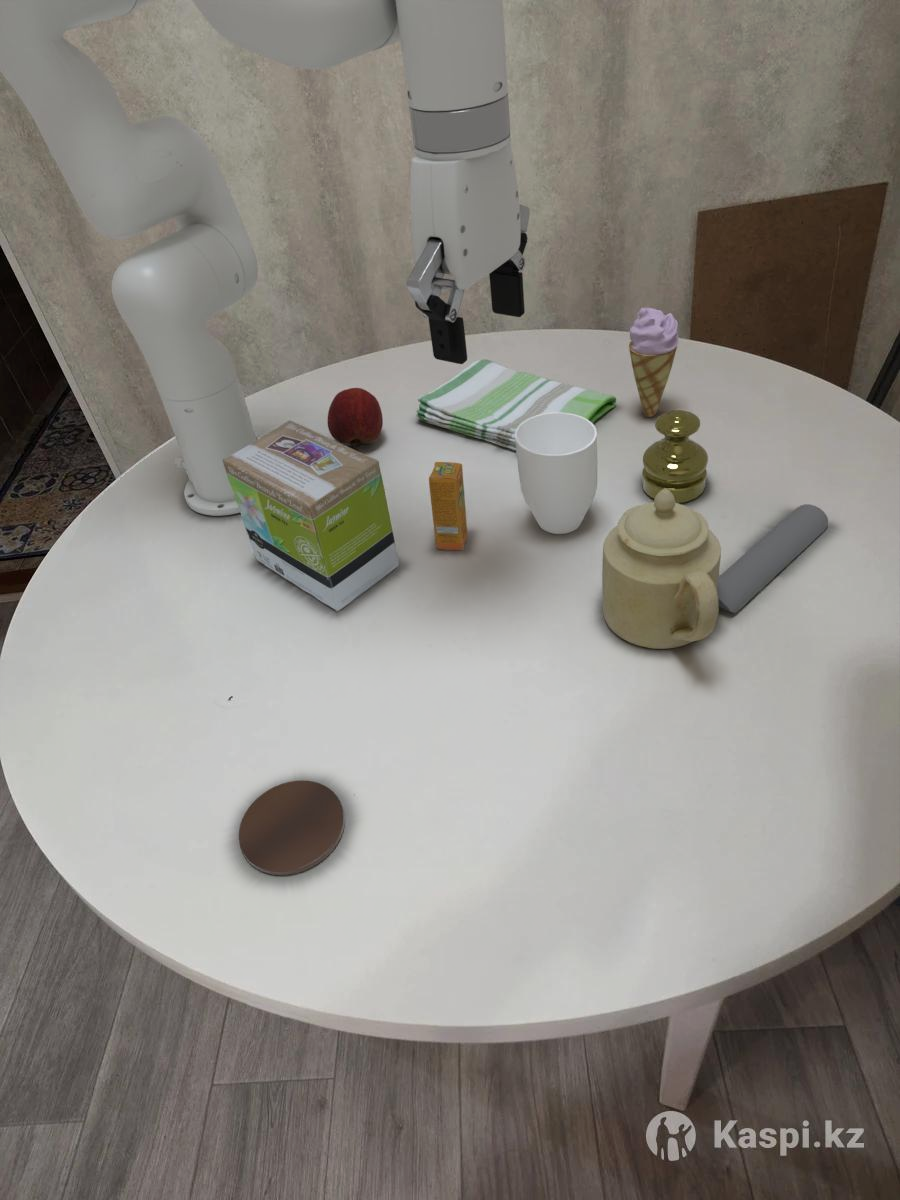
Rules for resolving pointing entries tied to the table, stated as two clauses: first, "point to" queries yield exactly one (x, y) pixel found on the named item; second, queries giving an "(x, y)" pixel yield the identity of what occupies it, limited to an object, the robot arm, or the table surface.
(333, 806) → the coaster
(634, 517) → the sugar bowl
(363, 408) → the apple
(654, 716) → the table surface
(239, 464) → the tea box
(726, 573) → the gray half cylinder
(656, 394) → the ice cream cone
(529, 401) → the dish towel
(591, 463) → the mug
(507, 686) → the table surface
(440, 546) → the supplement box
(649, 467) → the brass weight
